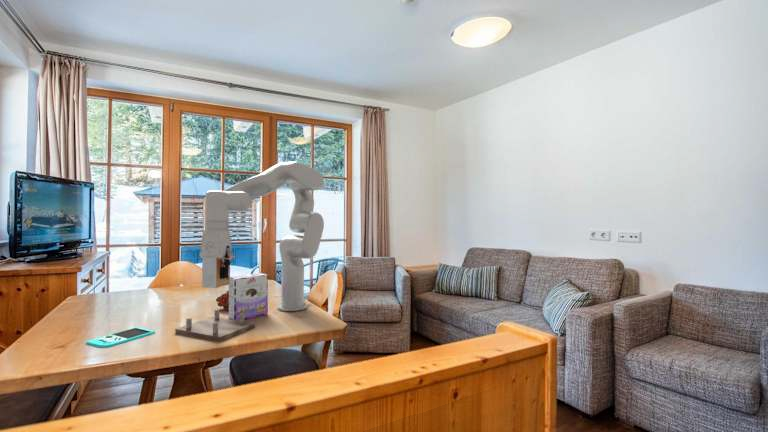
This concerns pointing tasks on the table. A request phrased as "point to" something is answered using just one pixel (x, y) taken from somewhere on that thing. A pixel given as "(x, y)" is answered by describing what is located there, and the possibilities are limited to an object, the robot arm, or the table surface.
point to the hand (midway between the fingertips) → (216, 276)
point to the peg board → (222, 329)
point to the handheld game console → (120, 337)
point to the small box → (213, 273)
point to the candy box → (248, 296)
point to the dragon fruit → (223, 300)
